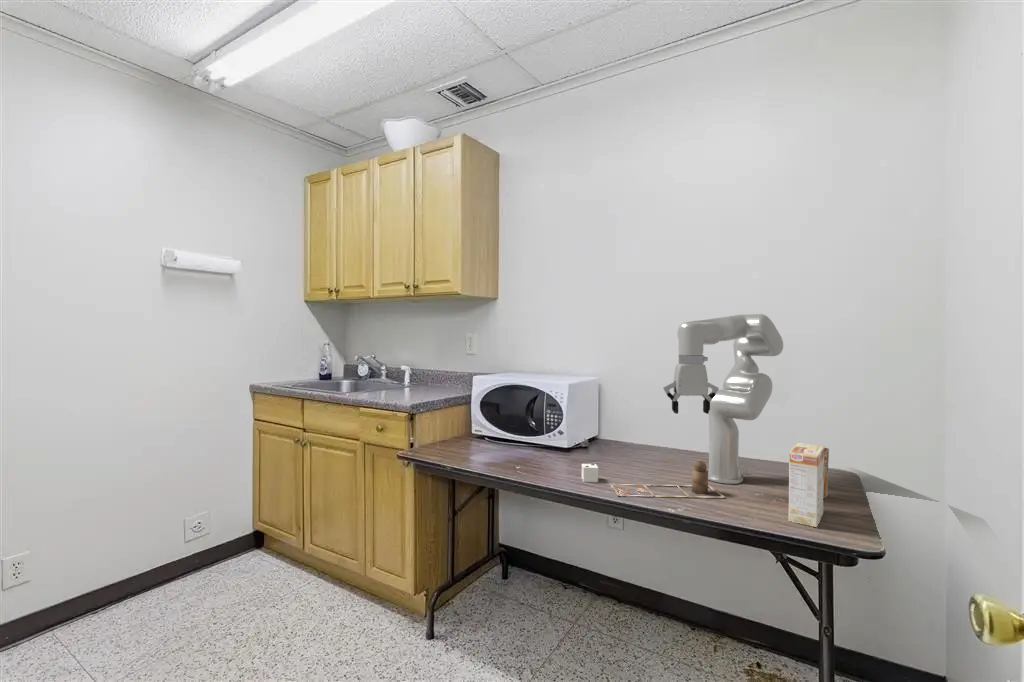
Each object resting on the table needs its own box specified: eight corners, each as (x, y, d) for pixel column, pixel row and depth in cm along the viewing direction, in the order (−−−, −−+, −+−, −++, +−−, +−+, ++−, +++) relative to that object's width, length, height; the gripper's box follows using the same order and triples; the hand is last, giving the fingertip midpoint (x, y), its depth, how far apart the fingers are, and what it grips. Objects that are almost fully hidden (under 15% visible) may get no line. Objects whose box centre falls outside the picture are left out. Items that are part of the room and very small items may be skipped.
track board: (710, 486, 158) (710, 485, 158) (726, 498, 146) (726, 497, 146) (610, 485, 158) (610, 483, 158) (617, 496, 146) (617, 495, 146)
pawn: (704, 490, 154) (704, 459, 154) (710, 494, 149) (710, 463, 149) (689, 489, 154) (690, 458, 154) (695, 494, 150) (695, 462, 149)
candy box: (812, 492, 153) (813, 445, 153) (828, 495, 150) (829, 448, 150) (806, 499, 147) (807, 450, 146) (822, 502, 144) (823, 452, 144)
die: (595, 478, 166) (595, 463, 166) (598, 482, 161) (598, 467, 161) (581, 477, 166) (581, 463, 166) (583, 482, 161) (583, 467, 161)
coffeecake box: (795, 507, 140) (797, 441, 139) (824, 513, 135) (825, 445, 135) (786, 522, 128) (788, 450, 128) (817, 529, 124) (819, 455, 123)
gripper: (713, 359, 156) (713, 410, 156) (660, 360, 157) (660, 410, 157) (722, 361, 148) (722, 415, 149) (667, 361, 149) (667, 415, 150)
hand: (690, 412), depth 153 cm, fingers open, 9 cm apart
